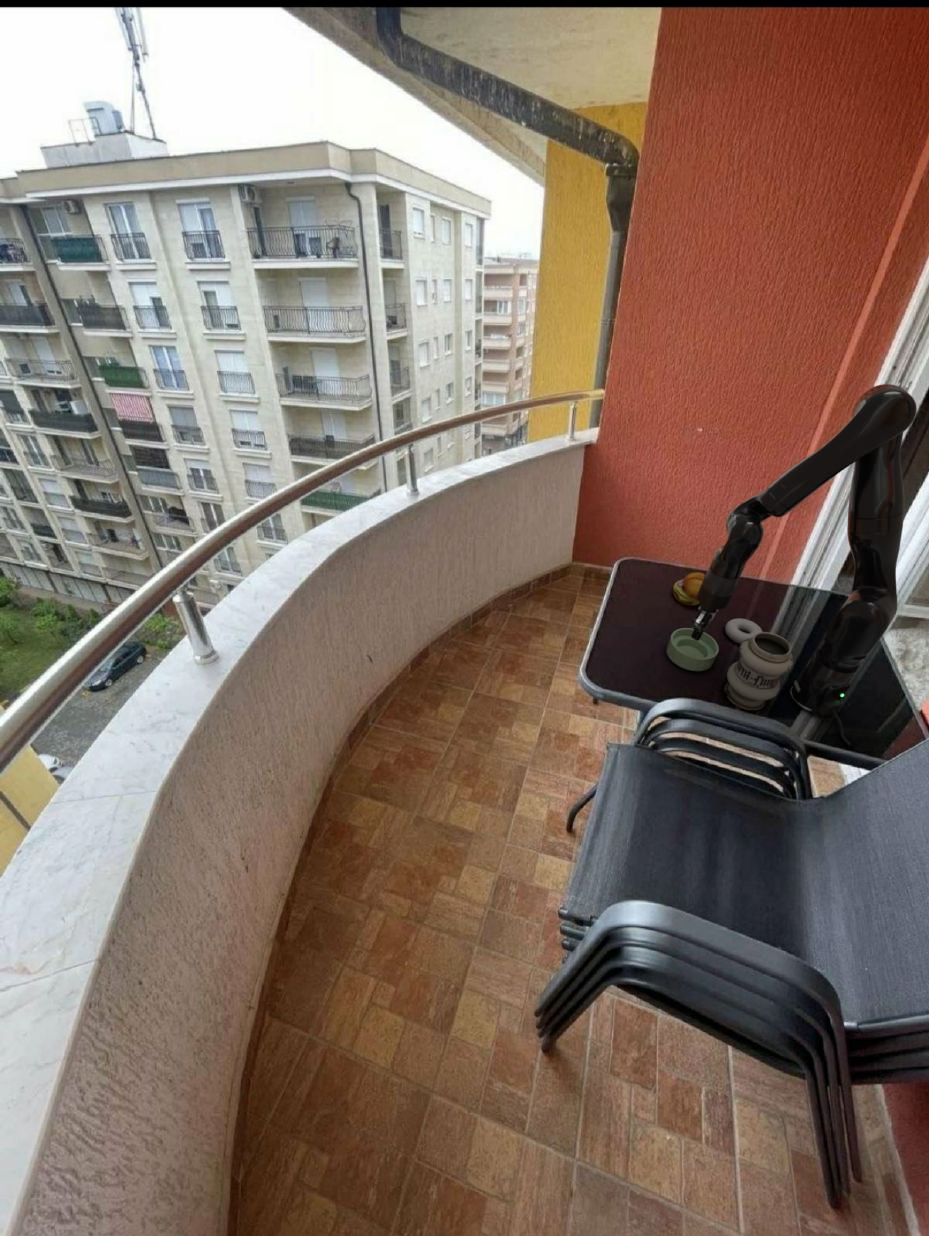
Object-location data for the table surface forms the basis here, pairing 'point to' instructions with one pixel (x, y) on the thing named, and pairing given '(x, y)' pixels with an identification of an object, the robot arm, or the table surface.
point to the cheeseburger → (688, 589)
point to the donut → (741, 624)
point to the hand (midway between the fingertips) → (695, 637)
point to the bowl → (692, 650)
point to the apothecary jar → (758, 670)
